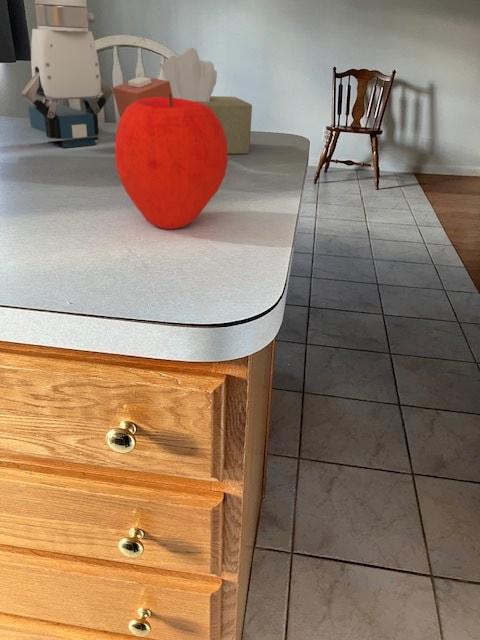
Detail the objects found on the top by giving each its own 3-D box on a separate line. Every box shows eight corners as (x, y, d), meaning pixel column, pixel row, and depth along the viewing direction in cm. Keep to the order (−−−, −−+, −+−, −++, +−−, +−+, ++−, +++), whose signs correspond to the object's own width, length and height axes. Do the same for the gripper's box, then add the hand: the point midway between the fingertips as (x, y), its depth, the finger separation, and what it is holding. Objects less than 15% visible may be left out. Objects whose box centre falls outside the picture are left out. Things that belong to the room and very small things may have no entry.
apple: (247, 228, 60) (255, 99, 54) (160, 251, 53) (157, 105, 46) (181, 201, 67) (181, 85, 61) (98, 218, 60) (87, 88, 54)
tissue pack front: (136, 88, 66) (168, 76, 68) (110, 82, 70) (141, 71, 72) (159, 184, 74) (188, 170, 76) (135, 174, 78) (163, 161, 80)
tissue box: (234, 142, 101) (239, 48, 94) (251, 154, 93) (257, 52, 86) (133, 143, 96) (129, 43, 88) (141, 155, 88) (137, 47, 80)
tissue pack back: (97, 145, 93) (95, 114, 90) (64, 148, 89) (61, 116, 87) (63, 132, 101) (60, 104, 98) (32, 135, 97) (28, 106, 95)
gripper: (100, 21, 91) (107, 132, 100) (-4, 16, 81) (14, 141, 89) (124, 23, 86) (129, 140, 95) (17, 18, 76) (34, 149, 85)
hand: (73, 139), depth 92 cm, fingers closed on tissue pack back, 6 cm apart
